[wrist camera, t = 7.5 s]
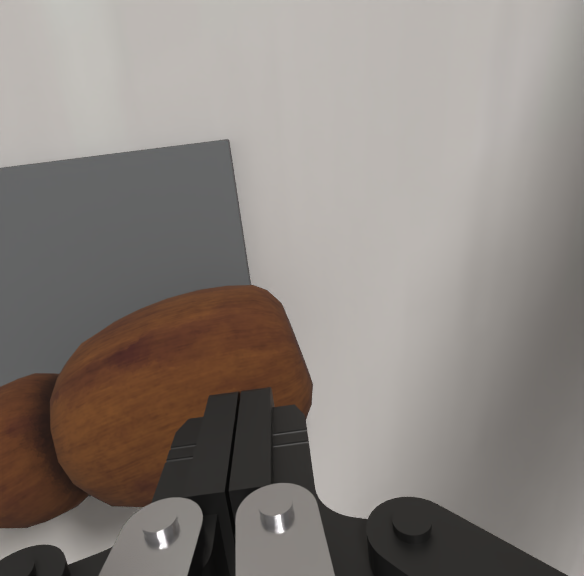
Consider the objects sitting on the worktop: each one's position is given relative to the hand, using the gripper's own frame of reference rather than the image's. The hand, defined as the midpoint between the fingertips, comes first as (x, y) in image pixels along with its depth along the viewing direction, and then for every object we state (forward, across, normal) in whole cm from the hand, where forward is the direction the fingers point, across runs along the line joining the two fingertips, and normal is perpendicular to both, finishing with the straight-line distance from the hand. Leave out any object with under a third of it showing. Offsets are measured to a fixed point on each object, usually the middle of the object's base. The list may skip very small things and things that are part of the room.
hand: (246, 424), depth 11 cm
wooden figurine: (+4, -2, 0) cm, 5 cm away
